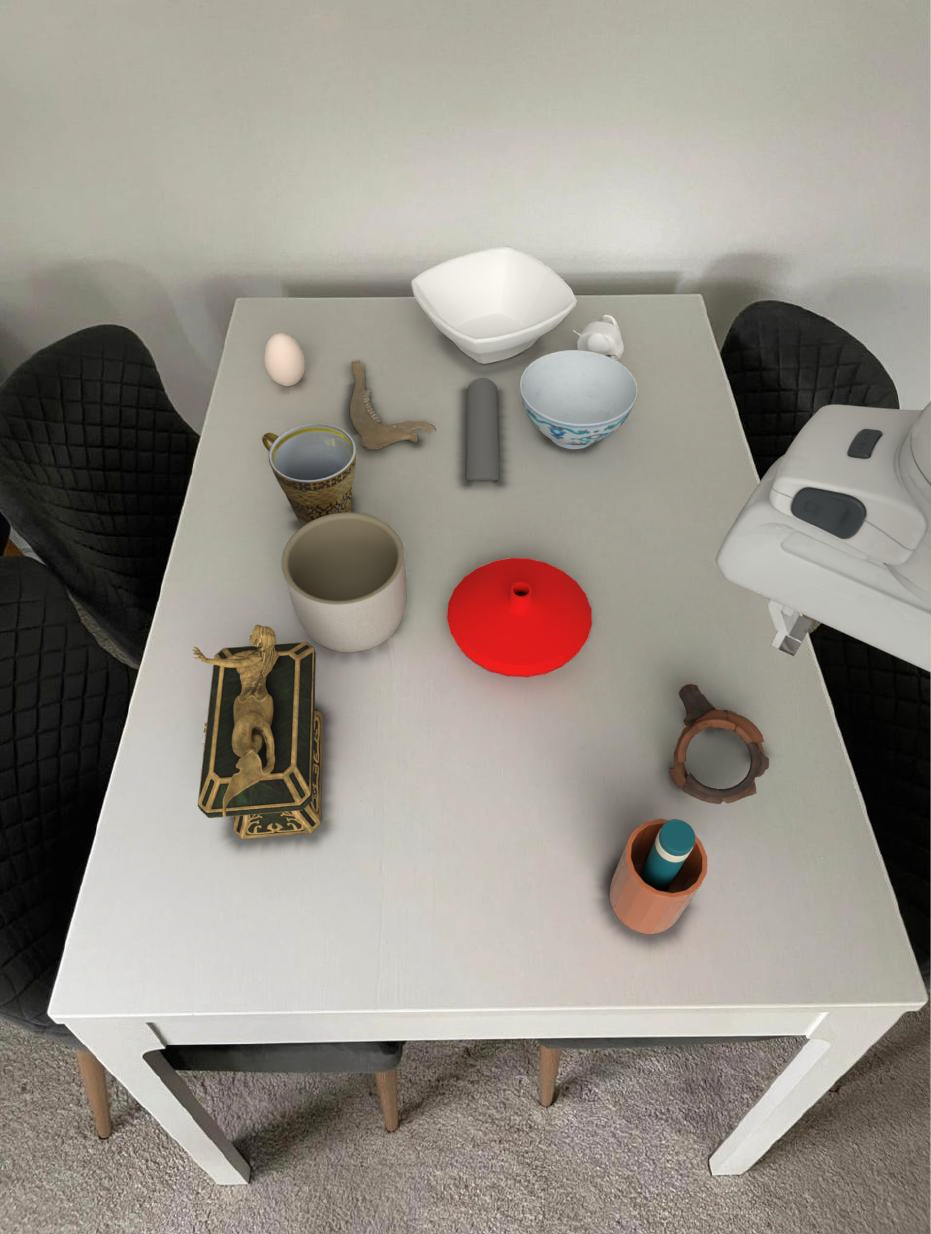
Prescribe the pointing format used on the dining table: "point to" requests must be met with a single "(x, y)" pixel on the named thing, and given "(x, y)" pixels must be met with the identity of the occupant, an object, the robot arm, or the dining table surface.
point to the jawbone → (369, 422)
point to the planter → (346, 580)
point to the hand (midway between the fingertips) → (864, 681)
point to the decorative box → (263, 738)
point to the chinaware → (577, 396)
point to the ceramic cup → (314, 469)
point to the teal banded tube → (668, 854)
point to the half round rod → (482, 431)
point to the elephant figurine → (602, 338)
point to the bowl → (493, 301)
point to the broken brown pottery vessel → (708, 716)
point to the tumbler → (643, 902)
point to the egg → (284, 359)
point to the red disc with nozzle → (519, 617)
